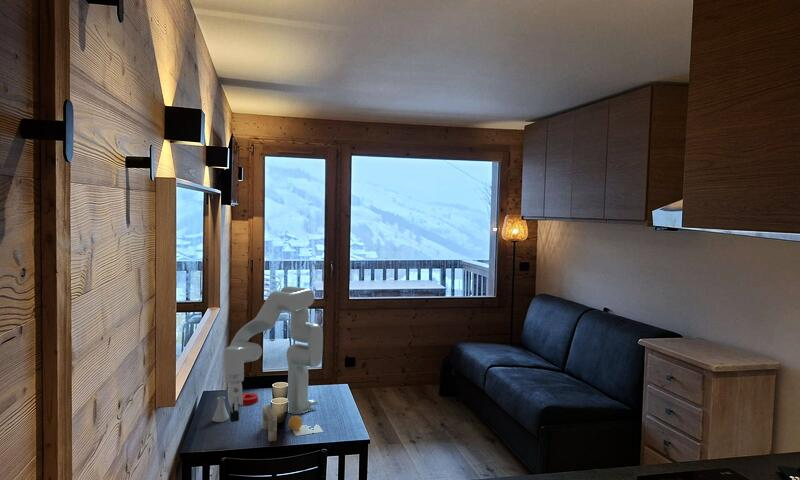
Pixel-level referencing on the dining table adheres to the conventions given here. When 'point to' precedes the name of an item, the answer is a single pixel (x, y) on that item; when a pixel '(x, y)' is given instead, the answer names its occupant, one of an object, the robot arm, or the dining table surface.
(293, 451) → the dining table surface
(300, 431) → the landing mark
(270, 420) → the bridge
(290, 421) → the ball
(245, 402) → the decorative ornament
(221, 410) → the flask
